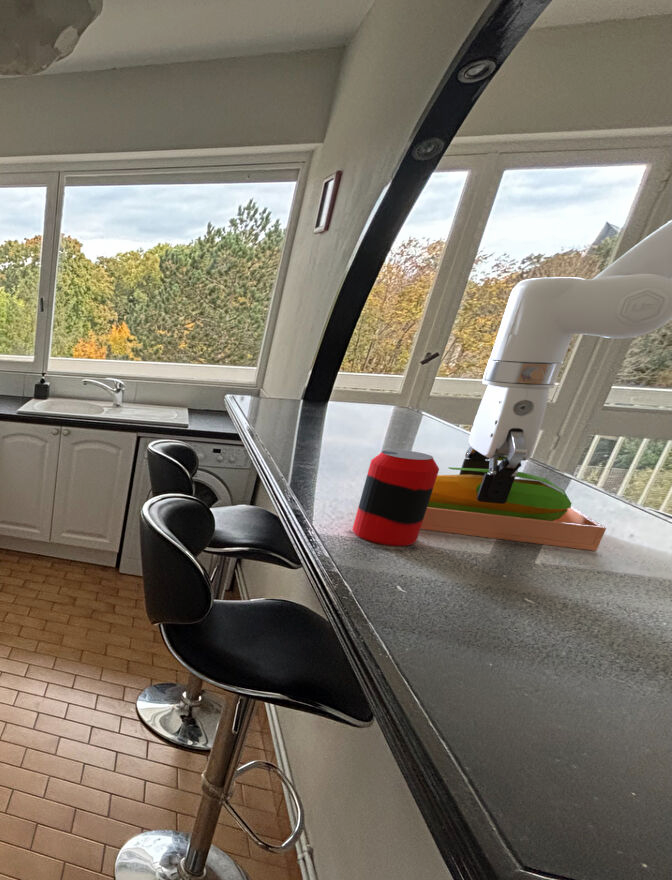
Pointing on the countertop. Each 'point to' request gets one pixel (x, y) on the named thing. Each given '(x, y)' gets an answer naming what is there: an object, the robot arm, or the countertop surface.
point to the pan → (519, 527)
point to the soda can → (395, 497)
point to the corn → (521, 502)
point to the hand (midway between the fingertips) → (479, 492)
